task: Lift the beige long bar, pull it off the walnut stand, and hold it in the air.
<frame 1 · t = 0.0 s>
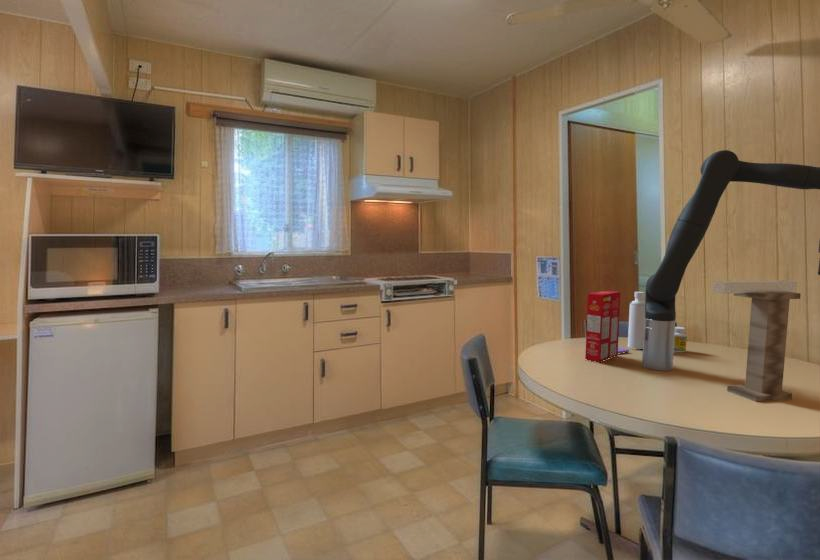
walnut stand: (758, 394, 127), on the table
food packaging: (601, 358, 166), on the table
supplement bottle: (677, 351, 177), on the table
beige long bar: (754, 292, 123), point 30 cm above the table, touching walnut stand
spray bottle: (636, 348, 181), on the table
sponges: (610, 351, 178), on the table
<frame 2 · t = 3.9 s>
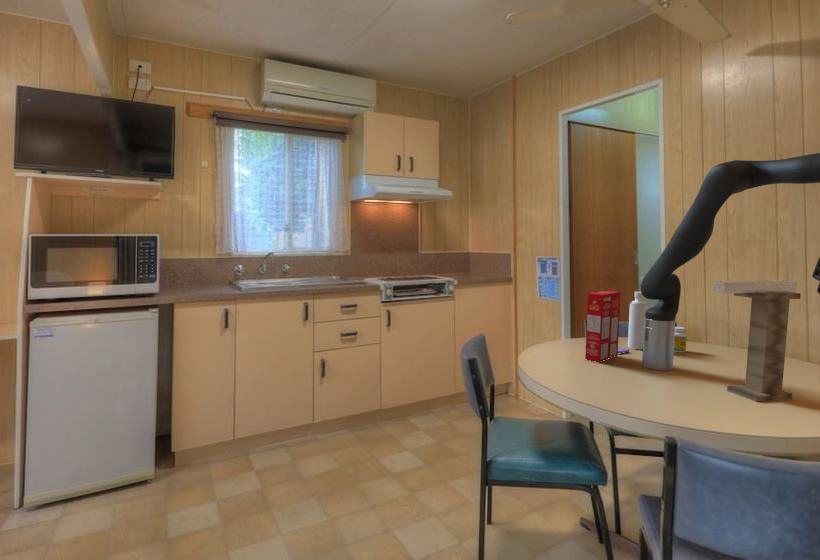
nothing on the table moved.
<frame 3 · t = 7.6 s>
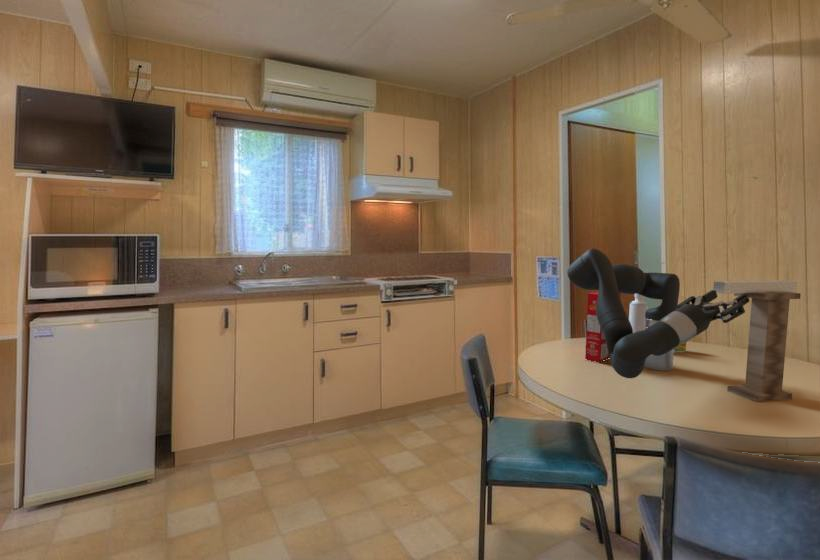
hand: (730, 295, 111), 31 cm above the table, tool pointing upward, fingers open, 8 cm apart
nothing on the table moved.
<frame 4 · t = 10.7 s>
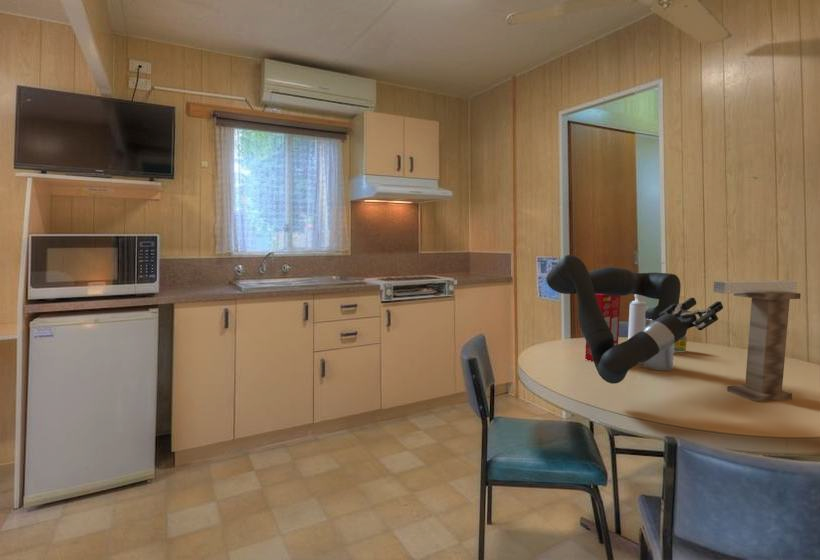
hand: (707, 302, 120), 28 cm above the table, tool pointing upward, fingers open, 8 cm apart
nothing on the table moved.
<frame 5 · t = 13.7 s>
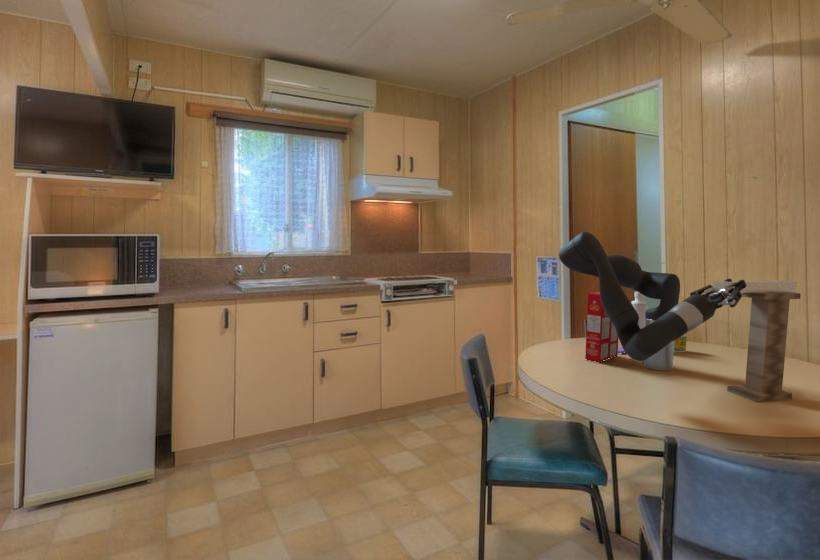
hand: (737, 282, 122), 33 cm above the table, tool pointing upward, fingers closed on beige long bar, 3 cm apart
beige long bar: (754, 292, 123), point 30 cm above the table, touching gripper, walnut stand
everything else where it was.
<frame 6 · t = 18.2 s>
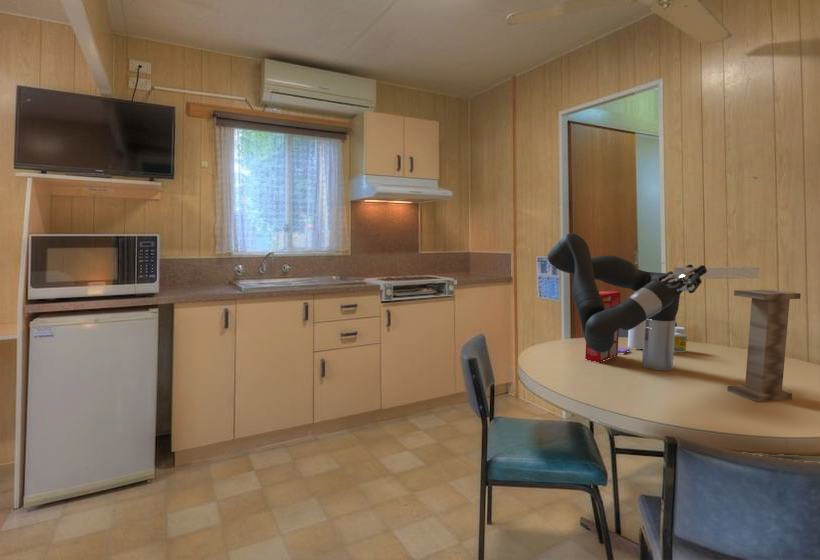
hand: (698, 267, 118), 37 cm above the table, tool pointing upward, fingers closed on beige long bar, 3 cm apart
beige long bar: (716, 278, 120), point 34 cm above the table, touching gripper
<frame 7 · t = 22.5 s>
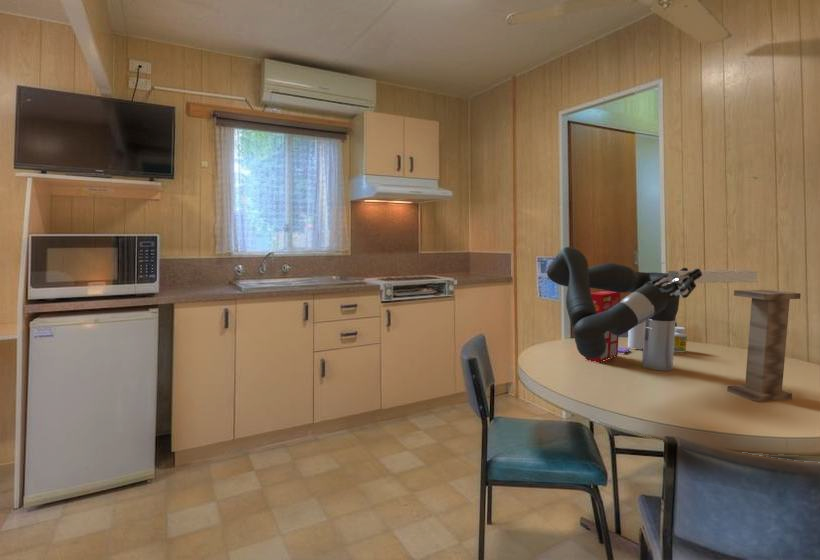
hand: (693, 271, 114), 36 cm above the table, tool pointing upward, fingers closed on beige long bar, 3 cm apart
beige long bar: (712, 282, 116), point 33 cm above the table, touching gripper
at the end: the gripper is holding beige long bar; beige long bar touching gripper; beige long bar moved 19.1 cm from its start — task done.
